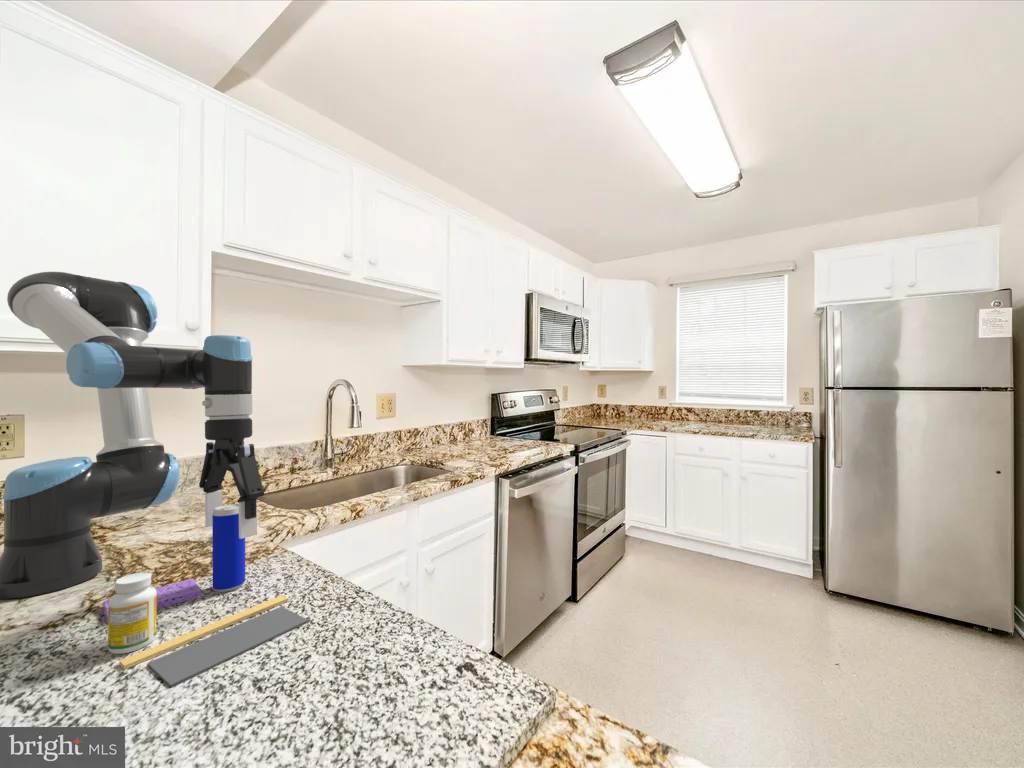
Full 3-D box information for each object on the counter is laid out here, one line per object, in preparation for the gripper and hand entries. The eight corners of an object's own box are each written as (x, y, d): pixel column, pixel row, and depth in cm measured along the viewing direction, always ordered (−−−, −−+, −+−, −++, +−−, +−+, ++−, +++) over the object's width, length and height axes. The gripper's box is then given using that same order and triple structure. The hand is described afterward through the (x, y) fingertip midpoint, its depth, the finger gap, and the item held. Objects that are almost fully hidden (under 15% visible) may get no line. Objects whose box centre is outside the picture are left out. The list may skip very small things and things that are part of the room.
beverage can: (239, 578, 85) (239, 501, 85) (249, 585, 82) (249, 506, 82) (208, 587, 81) (208, 507, 81) (217, 596, 78) (217, 512, 78)
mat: (147, 665, 58) (147, 663, 58) (281, 608, 73) (281, 606, 73) (170, 687, 53) (170, 685, 53) (308, 621, 68) (308, 619, 68)
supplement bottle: (134, 655, 60) (135, 586, 60) (96, 655, 60) (97, 586, 60) (166, 633, 66) (166, 570, 66) (131, 633, 66) (131, 570, 66)
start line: (119, 664, 58) (119, 660, 58) (282, 598, 77) (282, 595, 77) (124, 669, 57) (124, 665, 57) (288, 601, 75) (288, 598, 75)
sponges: (201, 599, 78) (201, 588, 78) (105, 627, 69) (105, 615, 69) (193, 587, 82) (193, 577, 83) (102, 611, 73) (103, 600, 74)
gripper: (178, 418, 85) (179, 526, 85) (239, 419, 72) (240, 548, 71) (221, 416, 92) (222, 516, 91) (284, 417, 78) (285, 535, 77)
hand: (230, 530), depth 81 cm, fingers open, 13 cm apart
